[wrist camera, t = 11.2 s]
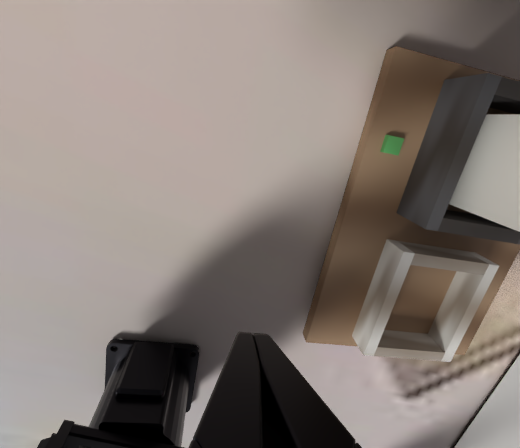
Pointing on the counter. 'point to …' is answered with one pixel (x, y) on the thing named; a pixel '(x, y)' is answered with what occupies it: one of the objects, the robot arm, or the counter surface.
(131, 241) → the counter surface
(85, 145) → the counter surface
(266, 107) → the counter surface
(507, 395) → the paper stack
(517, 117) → the plug
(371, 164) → the brown board with frames
